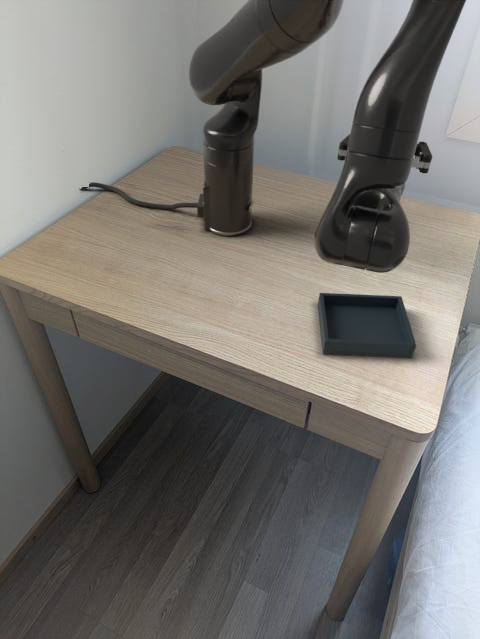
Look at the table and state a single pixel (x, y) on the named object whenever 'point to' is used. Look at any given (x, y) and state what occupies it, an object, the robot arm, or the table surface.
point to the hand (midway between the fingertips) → (389, 134)
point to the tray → (365, 326)
